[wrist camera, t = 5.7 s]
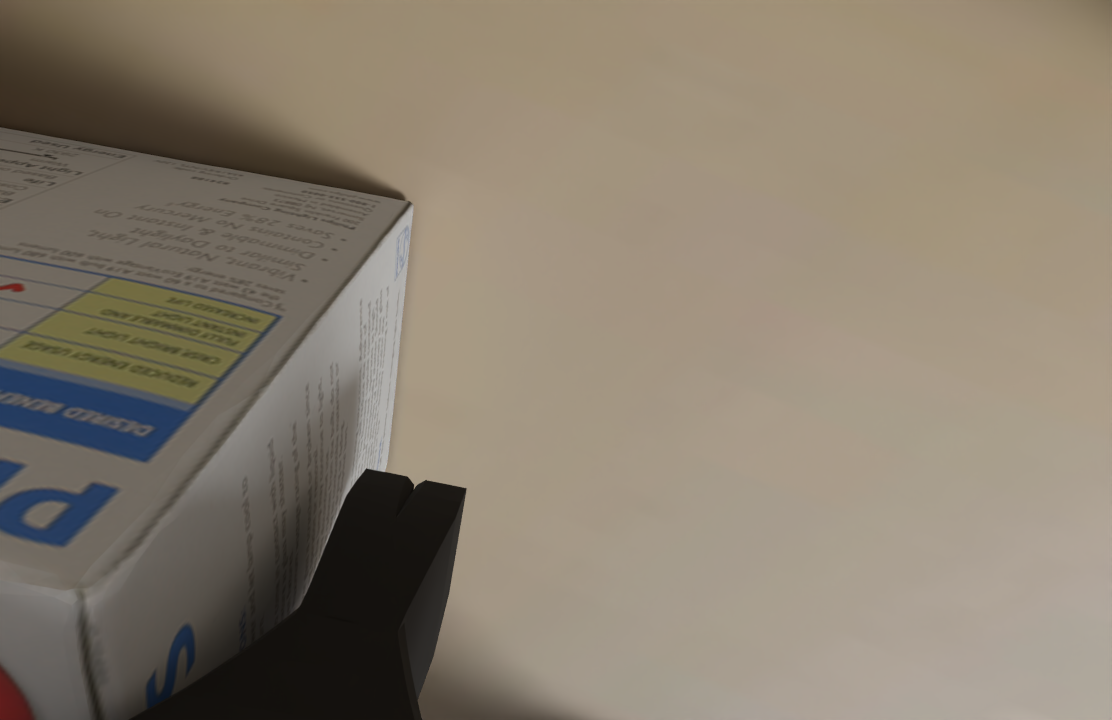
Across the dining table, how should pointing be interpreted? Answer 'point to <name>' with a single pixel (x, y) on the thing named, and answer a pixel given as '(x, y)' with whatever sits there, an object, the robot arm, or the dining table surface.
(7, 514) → the light bulb box
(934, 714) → the dining table surface
